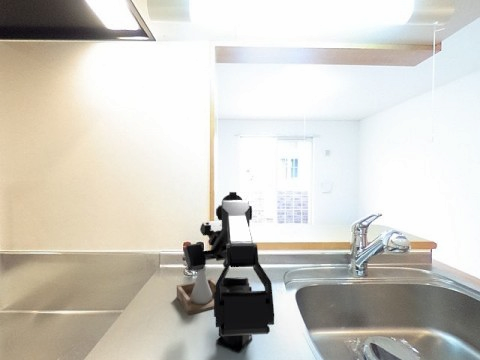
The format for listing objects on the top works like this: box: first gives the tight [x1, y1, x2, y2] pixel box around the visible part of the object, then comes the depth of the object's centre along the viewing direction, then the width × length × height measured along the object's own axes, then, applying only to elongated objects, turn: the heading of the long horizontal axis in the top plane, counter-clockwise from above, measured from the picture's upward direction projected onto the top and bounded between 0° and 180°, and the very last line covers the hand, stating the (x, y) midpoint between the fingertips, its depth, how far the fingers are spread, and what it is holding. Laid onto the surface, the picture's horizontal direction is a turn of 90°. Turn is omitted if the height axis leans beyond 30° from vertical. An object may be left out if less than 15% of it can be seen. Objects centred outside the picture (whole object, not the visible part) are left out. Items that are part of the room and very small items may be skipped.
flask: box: [190, 265, 213, 304], centre depth 80 cm, size 7×7×10 cm
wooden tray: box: [176, 277, 217, 316], centre depth 81 cm, size 12×12×4 cm
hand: (210, 268), depth 76 cm, fingers open, 9 cm apart
